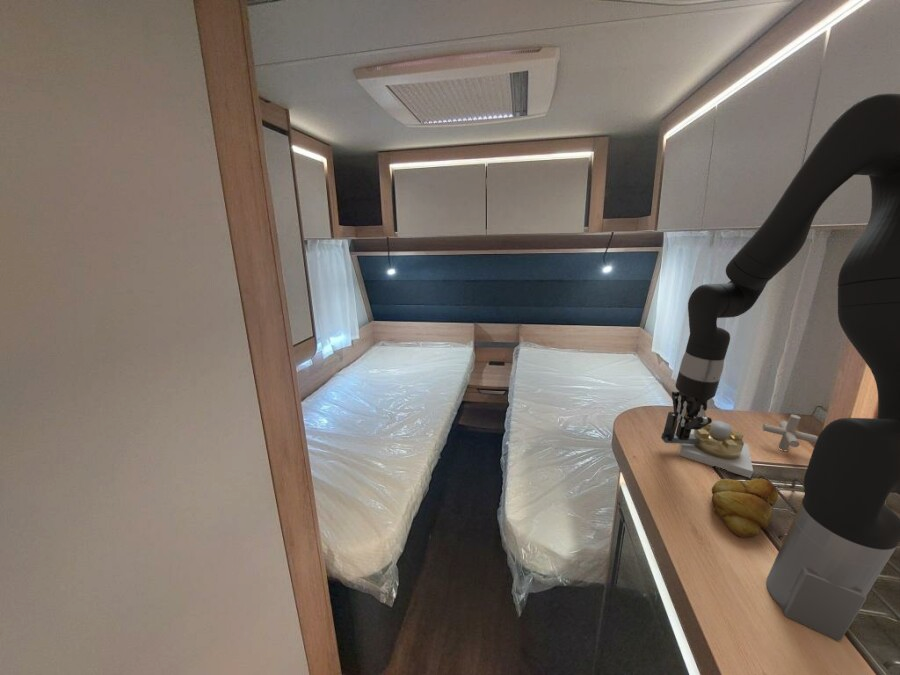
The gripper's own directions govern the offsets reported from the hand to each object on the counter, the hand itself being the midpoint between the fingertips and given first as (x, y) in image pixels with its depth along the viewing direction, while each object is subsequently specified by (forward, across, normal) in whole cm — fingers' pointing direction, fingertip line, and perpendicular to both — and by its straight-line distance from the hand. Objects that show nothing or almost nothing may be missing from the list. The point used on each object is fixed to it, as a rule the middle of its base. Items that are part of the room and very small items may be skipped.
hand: (681, 437), depth 82 cm
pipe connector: (+8, +9, -31) cm, 33 cm away
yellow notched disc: (+5, +5, -8) cm, 11 cm away
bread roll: (+8, -15, -5) cm, 18 cm away
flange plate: (+8, +5, -12) cm, 15 cm away
